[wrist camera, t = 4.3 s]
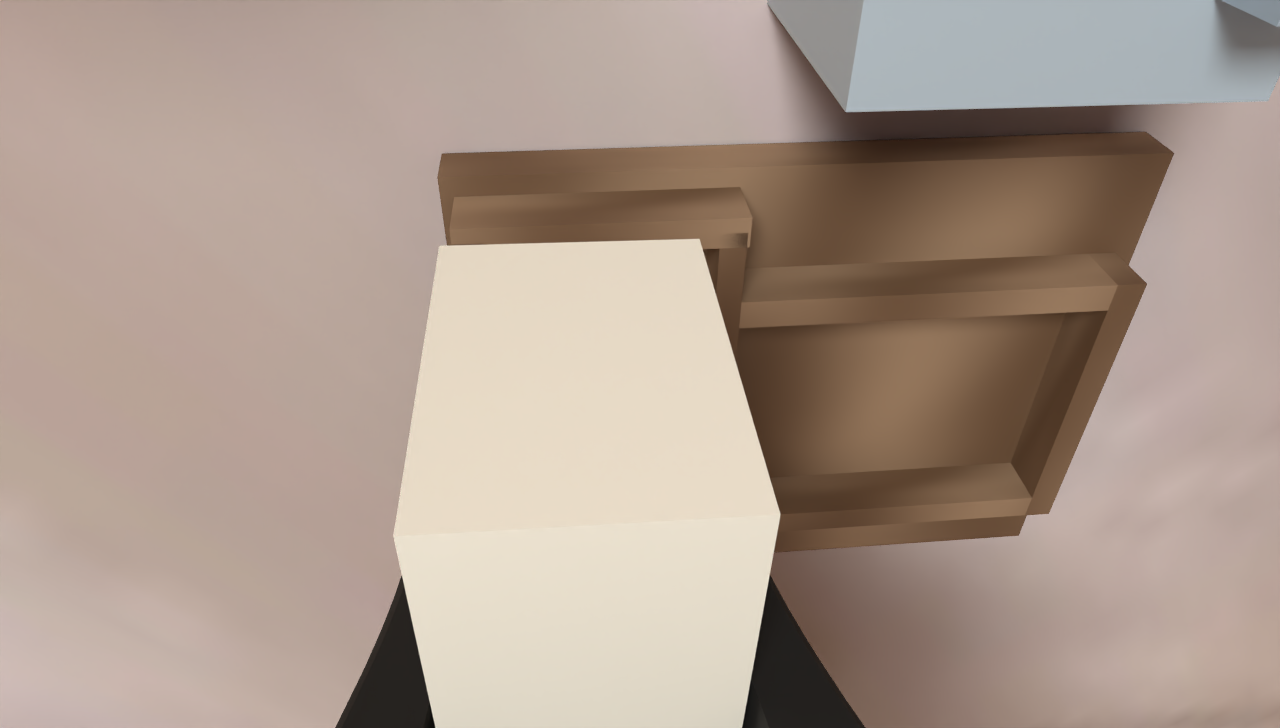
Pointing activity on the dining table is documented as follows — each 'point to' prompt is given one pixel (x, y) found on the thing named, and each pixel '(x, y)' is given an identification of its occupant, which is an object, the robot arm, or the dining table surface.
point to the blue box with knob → (1036, 51)
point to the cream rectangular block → (583, 492)
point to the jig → (876, 303)
